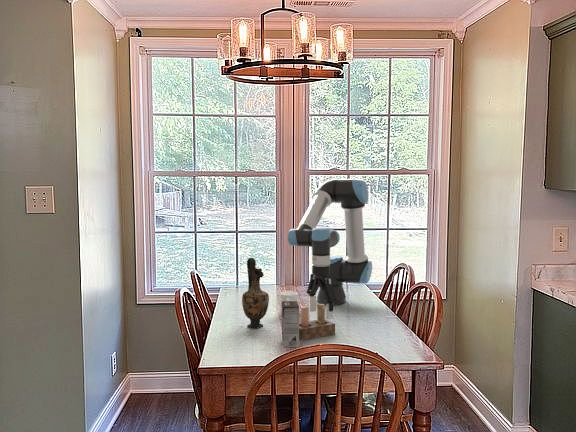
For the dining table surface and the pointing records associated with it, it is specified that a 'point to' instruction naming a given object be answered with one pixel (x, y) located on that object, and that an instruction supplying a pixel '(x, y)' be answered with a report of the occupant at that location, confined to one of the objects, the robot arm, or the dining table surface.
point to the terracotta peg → (304, 316)
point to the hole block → (316, 330)
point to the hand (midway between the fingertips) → (321, 314)
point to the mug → (288, 297)
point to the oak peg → (320, 314)
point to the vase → (254, 296)
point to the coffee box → (290, 323)
